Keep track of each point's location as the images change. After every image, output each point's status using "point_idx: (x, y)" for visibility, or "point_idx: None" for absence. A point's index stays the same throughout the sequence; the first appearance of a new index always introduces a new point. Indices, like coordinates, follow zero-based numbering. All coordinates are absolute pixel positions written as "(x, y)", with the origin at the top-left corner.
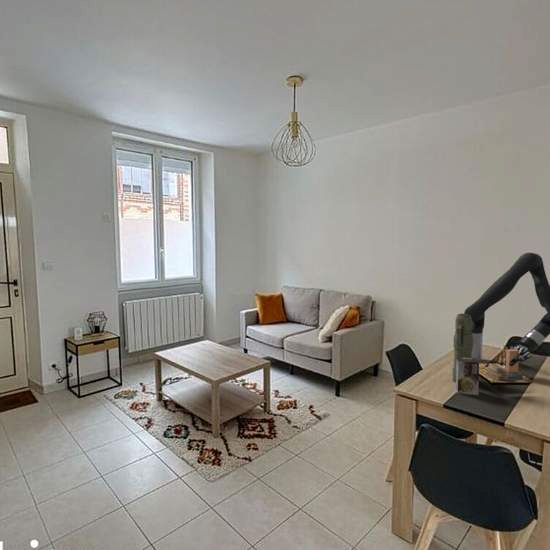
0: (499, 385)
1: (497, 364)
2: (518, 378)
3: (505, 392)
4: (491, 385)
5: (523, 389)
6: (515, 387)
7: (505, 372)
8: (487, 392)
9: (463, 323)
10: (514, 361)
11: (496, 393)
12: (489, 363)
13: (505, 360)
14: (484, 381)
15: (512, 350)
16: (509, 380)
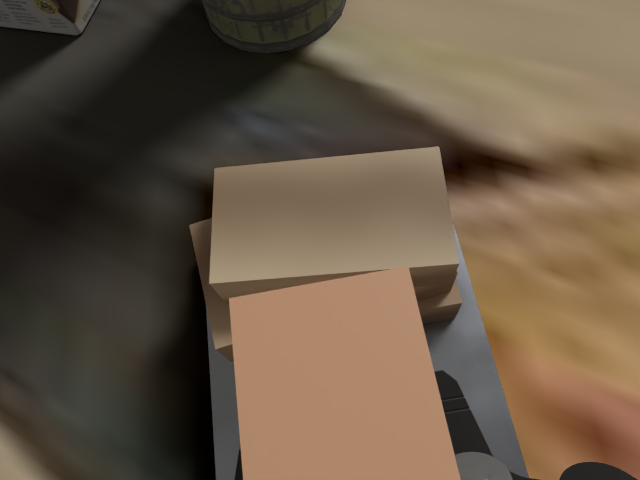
0: (173, 246)
1: (399, 245)
2: None
3: (10, 226)
4: (177, 177)
5: (44, 443)
6: (107, 383)
7: (204, 295)
8: (38, 96)
9: None
10: (238, 471)
11: (7, 149)
12: (438, 152)
13: (449, 377)
14: (279, 155)
15: (295, 449)
16: (213, 368)
